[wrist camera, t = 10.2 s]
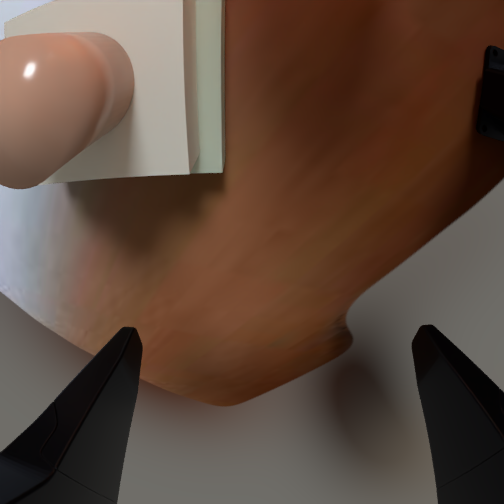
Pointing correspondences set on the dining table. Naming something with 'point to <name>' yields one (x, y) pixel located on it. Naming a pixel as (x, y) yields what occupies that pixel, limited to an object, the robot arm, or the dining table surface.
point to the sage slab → (210, 85)
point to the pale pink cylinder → (57, 100)
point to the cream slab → (135, 84)
